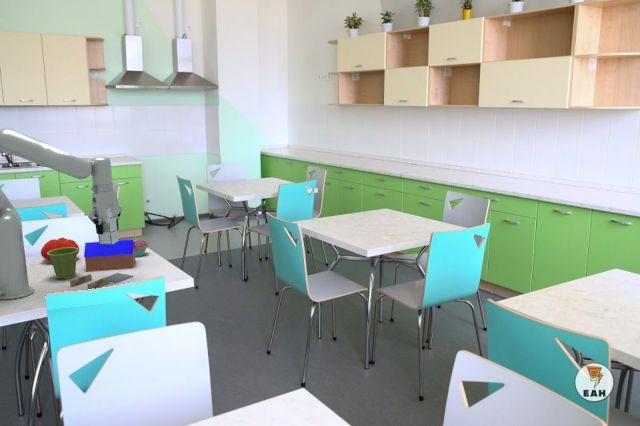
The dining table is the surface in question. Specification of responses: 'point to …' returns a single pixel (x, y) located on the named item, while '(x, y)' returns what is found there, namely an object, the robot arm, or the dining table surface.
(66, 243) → the tomato
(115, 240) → the syrup box
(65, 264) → the plant pot
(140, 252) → the cupcake
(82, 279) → the rails
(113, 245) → the house
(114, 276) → the pad
